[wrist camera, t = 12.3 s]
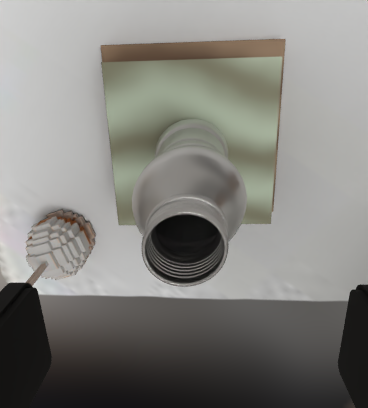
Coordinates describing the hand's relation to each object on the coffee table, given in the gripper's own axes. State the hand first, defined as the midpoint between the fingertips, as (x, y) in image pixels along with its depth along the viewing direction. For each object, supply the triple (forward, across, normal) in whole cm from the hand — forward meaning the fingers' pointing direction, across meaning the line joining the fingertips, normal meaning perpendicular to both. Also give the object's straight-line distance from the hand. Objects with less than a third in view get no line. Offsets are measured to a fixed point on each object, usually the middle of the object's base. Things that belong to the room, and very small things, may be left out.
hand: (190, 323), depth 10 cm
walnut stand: (+34, +1, 0) cm, 34 cm away
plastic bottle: (+24, +1, 0) cm, 25 cm away
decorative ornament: (+34, +19, +14) cm, 41 cm away
